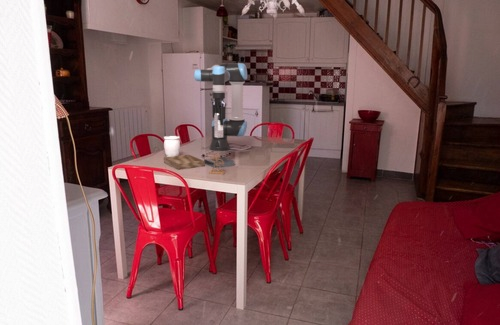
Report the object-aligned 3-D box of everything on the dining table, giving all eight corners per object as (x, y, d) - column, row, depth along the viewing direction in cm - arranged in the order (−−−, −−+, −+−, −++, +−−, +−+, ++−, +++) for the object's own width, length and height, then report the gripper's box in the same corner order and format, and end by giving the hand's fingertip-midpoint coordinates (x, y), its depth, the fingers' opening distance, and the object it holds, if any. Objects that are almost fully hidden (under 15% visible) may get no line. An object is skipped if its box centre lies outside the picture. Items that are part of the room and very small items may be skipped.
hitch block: (222, 161, 253) (222, 156, 252) (234, 165, 241) (234, 160, 241) (204, 163, 245) (204, 159, 244) (215, 168, 234) (215, 163, 233)
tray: (189, 159, 256) (188, 154, 255) (204, 166, 238) (204, 160, 237) (163, 162, 245) (163, 157, 245) (178, 169, 228) (178, 164, 227)
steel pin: (220, 136, 242) (220, 112, 239) (224, 137, 238) (224, 113, 235) (213, 136, 240) (213, 113, 236) (217, 137, 236) (217, 113, 232)
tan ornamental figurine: (225, 173, 223) (225, 153, 220) (223, 174, 219) (223, 154, 216) (211, 171, 225) (211, 152, 222) (208, 173, 221) (208, 153, 218)
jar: (164, 160, 252) (163, 138, 249) (164, 156, 262) (163, 135, 259) (180, 159, 254) (179, 137, 251) (180, 156, 264) (179, 135, 261)
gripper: (206, 91, 237) (207, 128, 243) (220, 92, 224) (220, 132, 229) (217, 91, 241) (217, 127, 247) (231, 92, 228) (231, 131, 233)
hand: (218, 129), depth 238 cm, fingers closed on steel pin, 4 cm apart
